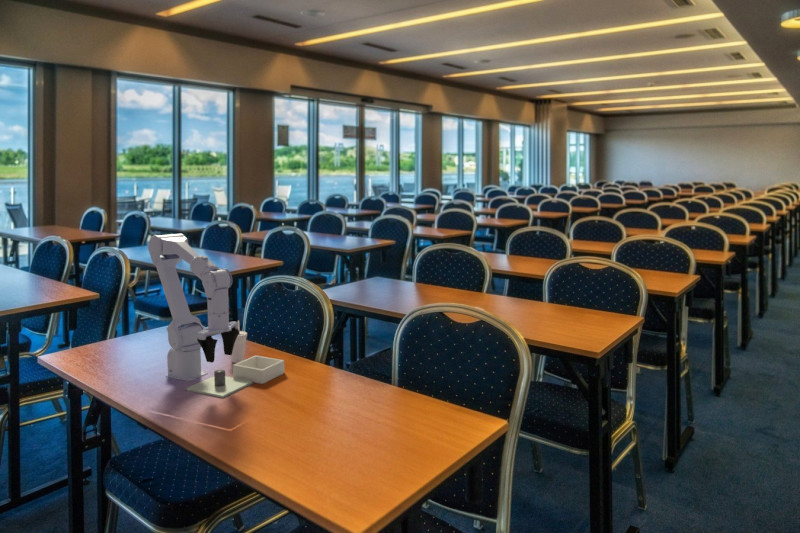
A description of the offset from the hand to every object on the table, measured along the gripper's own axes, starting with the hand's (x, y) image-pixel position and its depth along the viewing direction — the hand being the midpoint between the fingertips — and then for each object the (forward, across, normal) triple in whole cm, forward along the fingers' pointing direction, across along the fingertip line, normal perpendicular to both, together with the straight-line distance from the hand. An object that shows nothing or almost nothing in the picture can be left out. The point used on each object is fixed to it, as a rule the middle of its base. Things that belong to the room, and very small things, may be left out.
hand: (219, 358), depth 172 cm
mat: (+9, 0, 0) cm, 9 cm away
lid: (+9, 0, 0) cm, 9 cm away
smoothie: (+9, +22, +11) cm, 26 cm away
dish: (+9, +13, -4) cm, 16 cm away
